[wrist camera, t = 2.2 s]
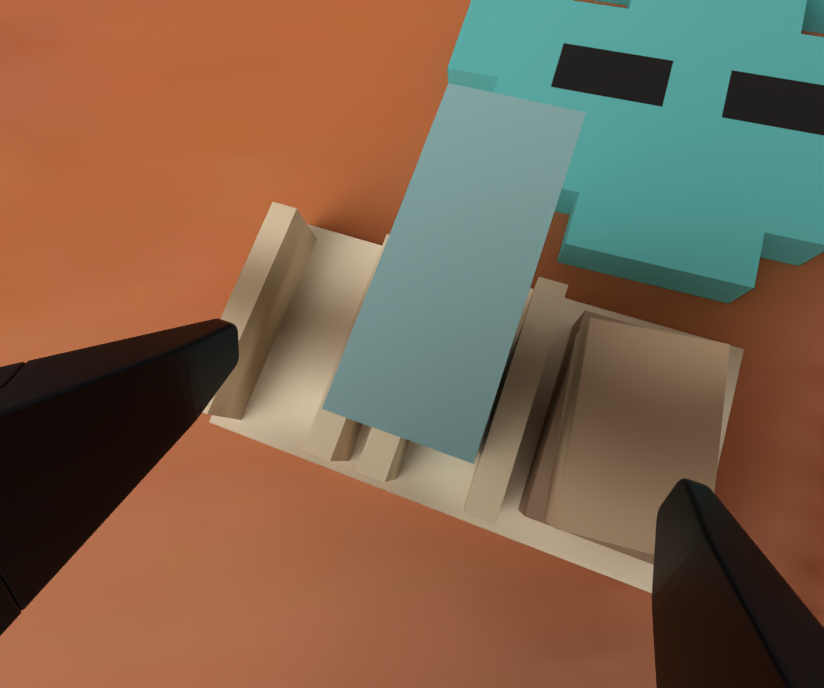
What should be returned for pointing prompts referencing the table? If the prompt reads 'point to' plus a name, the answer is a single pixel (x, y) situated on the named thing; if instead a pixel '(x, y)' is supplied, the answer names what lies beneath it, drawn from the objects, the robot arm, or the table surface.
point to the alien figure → (671, 129)
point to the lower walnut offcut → (546, 447)
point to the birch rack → (377, 450)
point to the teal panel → (456, 271)
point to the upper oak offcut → (634, 429)
